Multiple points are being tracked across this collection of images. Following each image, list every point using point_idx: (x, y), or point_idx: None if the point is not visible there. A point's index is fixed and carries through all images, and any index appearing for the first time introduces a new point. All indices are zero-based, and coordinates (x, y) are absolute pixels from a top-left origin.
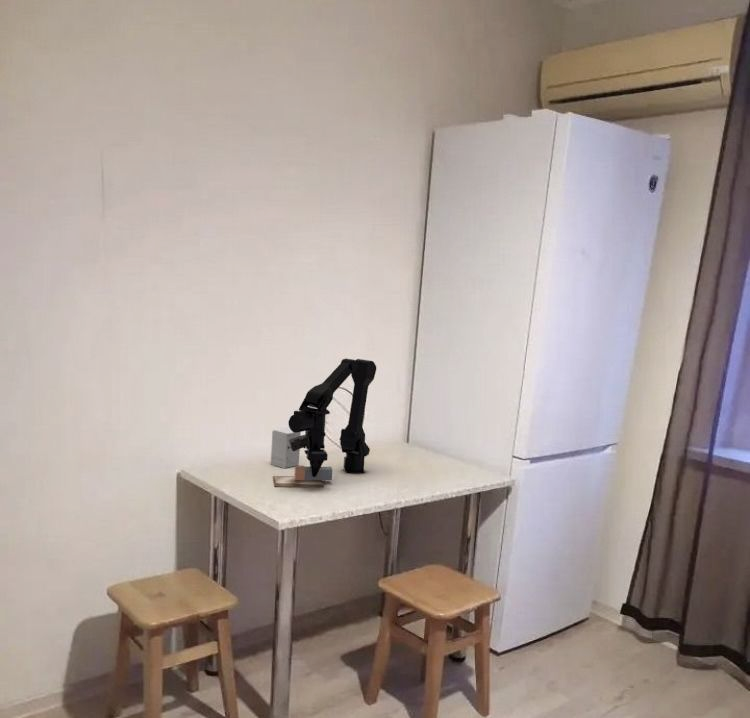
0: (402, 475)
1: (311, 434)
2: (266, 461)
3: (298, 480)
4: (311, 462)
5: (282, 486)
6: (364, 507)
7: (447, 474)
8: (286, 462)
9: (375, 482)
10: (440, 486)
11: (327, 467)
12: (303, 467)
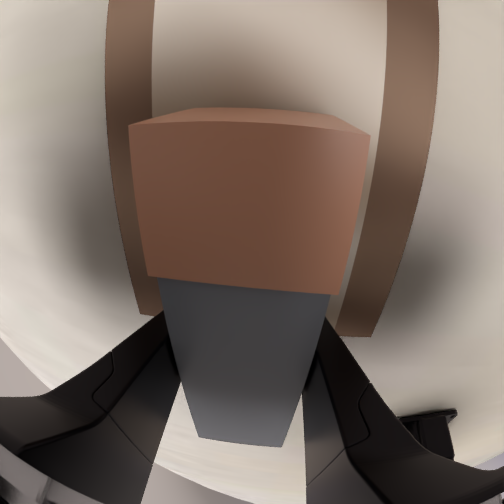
0: None
1: None
2: None
3: None
4: (48, 398)
5: (111, 6)
6: (4, 341)
7: (305, 496)
8: None
9: (252, 450)
10: (221, 484)
11: (259, 435)
12: (226, 268)
